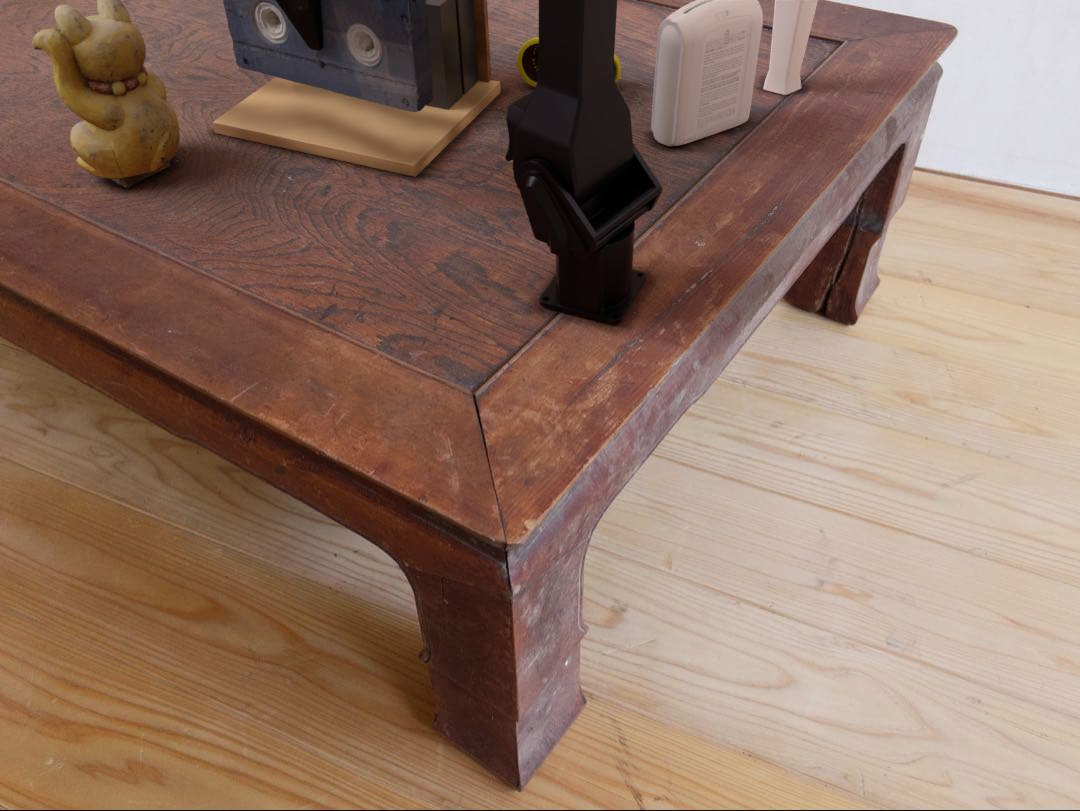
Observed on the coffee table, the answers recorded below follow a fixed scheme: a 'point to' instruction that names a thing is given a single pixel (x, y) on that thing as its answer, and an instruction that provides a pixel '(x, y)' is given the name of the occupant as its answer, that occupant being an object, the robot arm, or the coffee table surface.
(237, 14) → the vhs cassette tape
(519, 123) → the robot arm
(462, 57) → the tape rack
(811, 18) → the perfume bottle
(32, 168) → the coffee table surface
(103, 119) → the decorative figurine
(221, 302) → the coffee table surface
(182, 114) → the coffee table surface
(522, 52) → the yellow hollow cylinder
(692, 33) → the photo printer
